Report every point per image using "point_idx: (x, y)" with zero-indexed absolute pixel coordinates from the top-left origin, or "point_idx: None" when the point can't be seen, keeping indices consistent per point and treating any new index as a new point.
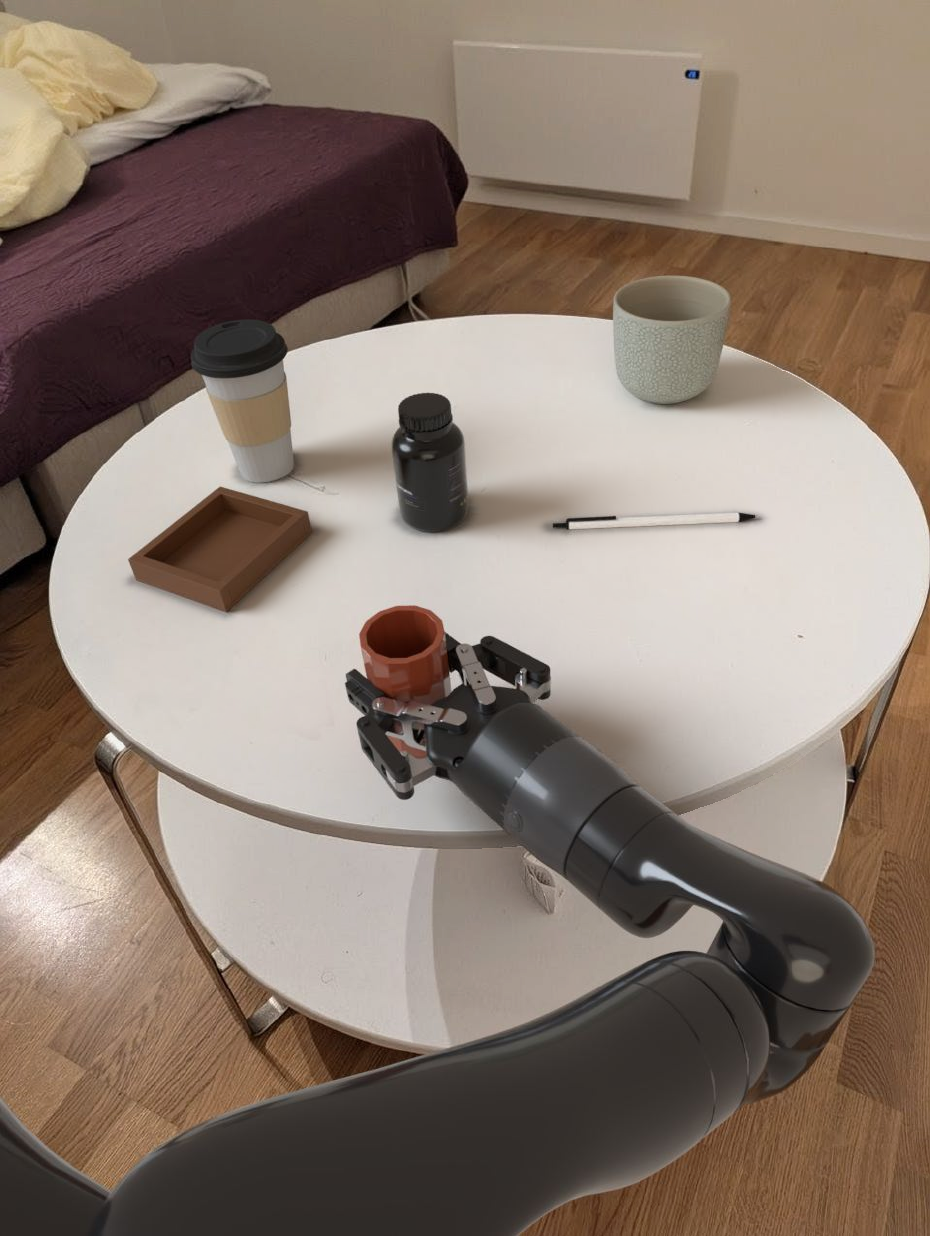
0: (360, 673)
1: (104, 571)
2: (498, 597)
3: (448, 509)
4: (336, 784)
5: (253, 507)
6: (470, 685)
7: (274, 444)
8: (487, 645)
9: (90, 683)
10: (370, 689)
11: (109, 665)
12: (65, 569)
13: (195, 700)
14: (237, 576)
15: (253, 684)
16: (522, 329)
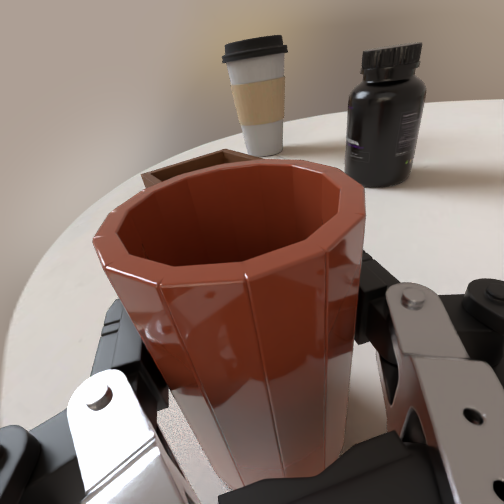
0: None
1: (138, 186)
2: (442, 248)
3: (392, 163)
4: None
5: (237, 159)
6: (443, 483)
7: (267, 126)
8: (497, 306)
9: (53, 244)
10: (126, 334)
11: (77, 235)
12: (122, 183)
13: (90, 276)
14: None
15: None
16: (459, 104)
